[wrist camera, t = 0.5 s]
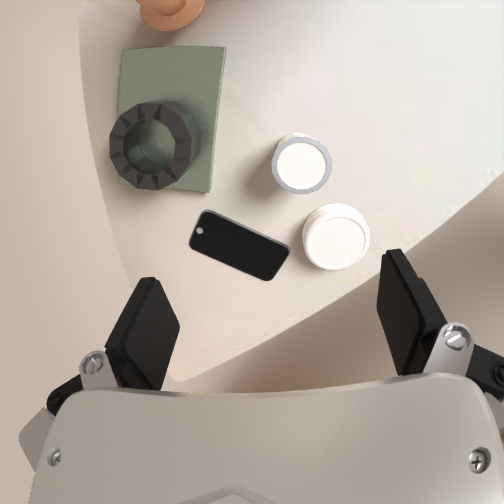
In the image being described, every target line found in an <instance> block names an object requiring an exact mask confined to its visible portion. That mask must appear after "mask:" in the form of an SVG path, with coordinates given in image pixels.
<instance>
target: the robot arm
mask: <svg viewBox="0 0 504 504" xmlns="http://www.w3.org/2000/svg"><path fill="white" fill-rule="evenodd" d="M377 312H378V315H379V318H380V321H381V324H382V326H383V329H384V332H385V336H386V339H387V342H388V344H389V348H390V351H391V354H392V358H393V361H394V364H395V368H396V371H397V374H398V375H399V376H400V375H402V376H400V377H393V378H388V379H383V380H377V381H372V382H365V383H358V384H351V385H344V386H337V387H329V388H321V389H311V390H300V391H287V392H271V393H240V394H239V393H238V394H217V393H215V394H214V393H184V392H168V391H160V390H161V387H162V385H163V381H164V378H165V375H166V371H167V368H168V365H169V362H170V358H171V355H172V352H173V349H174V346H175V343H176V339H177V336H178V333H179V330H180V325H179V322H178V320H177V317H176V315H175V313H174V311H173V309H172V307H171V305H170V303H169V301H168V299H167V296H166V294H165V292H164V290H163V288H162V285H161V283H160V281H159V280H156V278H155V277H145V278H141V279H140V281H139V282H138V284H137V286H136V288H135V289H134V291H133V293H132V295H131V297H130V298H129V300H128V302H127V304H126V306H125V308H124V309H123V312H122V313H121V315H120V317H119V319H118V321H117V323H116V325H115V327H114V329H113V330H112V333H111V334H110V336H109V338H108V340H107V343H106V344H105V346H104V347H105V348H106V351H105V353H104V352H103V351H93V352H91V353H89V354H88V355H86V356H85V357H84V358H83V360H82V362H81V363H80V367H79V371H80V374H79V375H77V376H76V377H74V378H72V379H71V380H69V381H68V382H66V383H64V384H63V385H61V386H60V387H58V388H56V389H55V390H54V391H52V392H51V394H50V395H49V397H48V399H47V403H46V404H47V409H45V408H44V407H43V408H42V409H41V410H40V411H39V412H38V414H36V415H35V416H34V418H33V419H31V421H30V422H29V423H28V424H27V425H26V426H25V427H24V428H23V429H22V431H21V432H20V435H19V442H20V445H21V447H22V449H23V451H24V453H25V455H26V457H27V459H28V461H29V462H30V464H31V466H32V468H33V469H34V471H35V475H34V479H33V483H32V488H31V492H30V497H29V503H28V504H504V357H502V356H499V355H497V354H495V353H493V352H491V351H489V350H487V349H484V348H482V347H480V346H478V345H476V344H474V343H475V338H474V334H473V333H472V331H471V330H470V329H469V328H468V327H467V326H465V325H463V324H462V323H457V322H453V323H447V321H446V319H445V317H444V315H443V314H442V312H441V310H440V308H439V306H438V304H437V302H436V301H435V299H434V297H433V295H432V294H431V292H430V290H429V288H428V287H427V285H426V283H425V281H424V280H423V279H422V278H418V276H417V275H416V273H415V271H414V270H413V268H412V267H411V265H410V263H409V261H408V260H407V258H406V256H405V255H404V253H403V252H402V250H401V249H393V250H387V251H386V254H383V255H382V261H381V272H380V281H379V289H378V297H377Z"/></svg>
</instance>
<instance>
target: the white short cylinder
mask: <svg viewBox="0 0 504 504" xmlns="http://www.w3.org/2000/svg"><path fill="white" fill-rule="evenodd" d="M302 240H303V246H304V251H305V254H306V256H307V257H308V259H309V260H310V261H311V262H312V263H313V264H314V265H316V266H317V267H319V268H321V269H325V270H330V271H337V270H343V269H346V268H349V267H351V266H353V265H354V264H356V263H357V262H358V261H359V260H360V259H361V258H362V257H363V256H364V254H365V253H366V251H367V249H368V246H369V242H370V234H369V229H368V226H367V224H366V223H365V221H364V219H363V218H362V216H361V215H360V213H359V212H358V211H357V210H355V209H354V208H352V207H350V206H348V205H345V204H338V203H334V204H327V205H324V206H322V207H320V208H318V209H317V210H315V211H314V212H313V213H312V214H311V215H310V216H309V217H308V219H307V220H306V222H305V224H304V227H303V231H302Z"/></svg>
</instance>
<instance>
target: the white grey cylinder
mask: <svg viewBox="0 0 504 504" xmlns="http://www.w3.org/2000/svg"><path fill="white" fill-rule="evenodd" d="M331 171H332V160H331V157H330V155H329V152H328V150H327V149H326V148H325V147H324V146H323V145H322V144H321V143H320V142H319V141H317V140H315V139H313V138H311V137H309V136H307V135H305V134H302V133H291V134H289V135H286V136H284V137H283V138H282V139H281V140H280V141H279V143H278V146H277V148H276V151H275V153H274V156H273V158H272V173H273V175H274V177H275V179H276V182H277V183H278V184H279V185H280V186H281V187H283V188H284V189H285V190H287V191H289V192H292V193H295V194H309V193H311V192H314V191H317V190H319V189H320V188H321V187H322V186H323V185H324V184H325V183H326V182H327V180H328V178H329V176H330V174H331Z"/></svg>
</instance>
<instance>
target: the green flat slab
mask: <svg viewBox="0 0 504 504" xmlns="http://www.w3.org/2000/svg"><path fill="white" fill-rule="evenodd" d="M225 55H226V48H225V47H206V46H175V47H153V48H140V49H130V50H123V53H122V62H121V72H120V85H119V102H118V120H117V121H116V123H115V125H114V127H113V129H112V131H111V133H110V158H111V160H112V162H113V164H114V166H115V168H116V170H117V172H118V177H119V184H130V185H133V186H135V187H136V188H140V189H150V190H160V189H162V188H172V189H181V190H190V191H199V192H207V193H209V191H210V190H211V182H212V170H213V159H214V148H215V138H216V128H217V119H218V110H219V102H220V93H221V85H222V77H223V70H224V63H225Z"/></svg>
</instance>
